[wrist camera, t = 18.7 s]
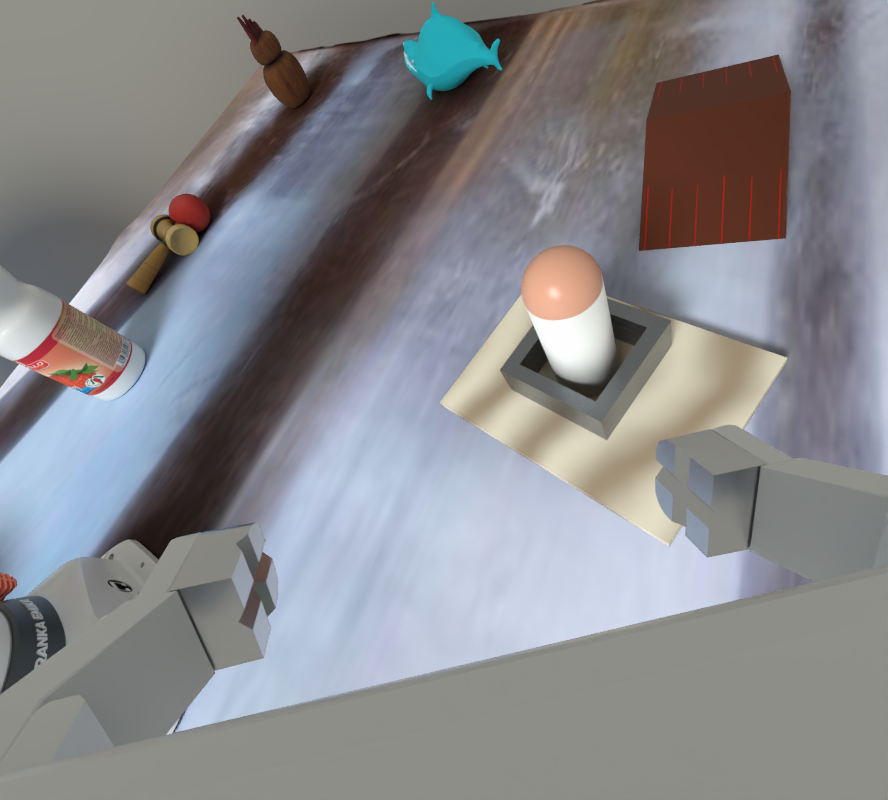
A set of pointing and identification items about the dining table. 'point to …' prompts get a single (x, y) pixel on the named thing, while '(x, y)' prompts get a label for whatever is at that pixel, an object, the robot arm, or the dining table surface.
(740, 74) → the roof
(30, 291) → the fruit juice
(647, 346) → the cradle
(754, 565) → the dining table surface
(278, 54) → the wooden figurine
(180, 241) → the kendama
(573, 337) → the peach-domed white capsule
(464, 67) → the toy shark
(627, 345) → the jig board
